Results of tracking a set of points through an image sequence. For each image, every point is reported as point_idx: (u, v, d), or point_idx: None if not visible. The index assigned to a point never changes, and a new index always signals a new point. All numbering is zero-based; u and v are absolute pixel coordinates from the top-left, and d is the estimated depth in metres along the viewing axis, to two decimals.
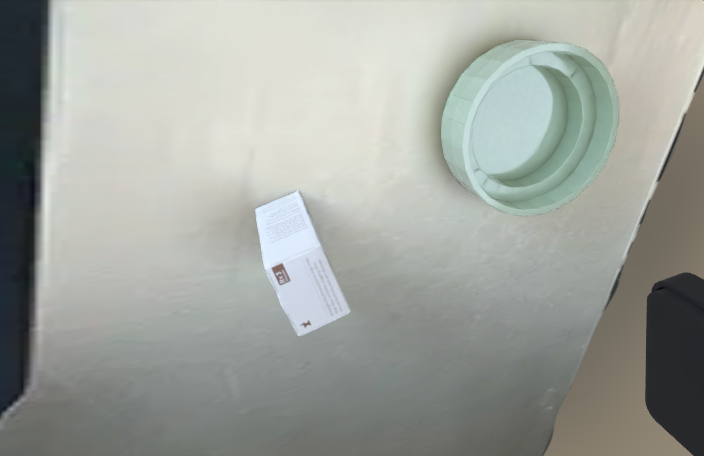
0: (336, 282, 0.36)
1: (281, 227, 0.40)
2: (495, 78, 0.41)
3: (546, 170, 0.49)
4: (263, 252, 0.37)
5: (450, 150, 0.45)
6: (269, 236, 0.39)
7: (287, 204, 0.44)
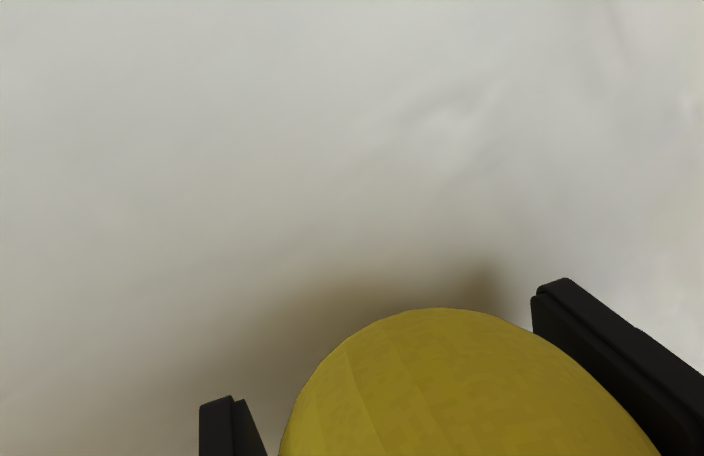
0: None
1: None
2: None
3: None
4: None
5: None
6: None
7: None
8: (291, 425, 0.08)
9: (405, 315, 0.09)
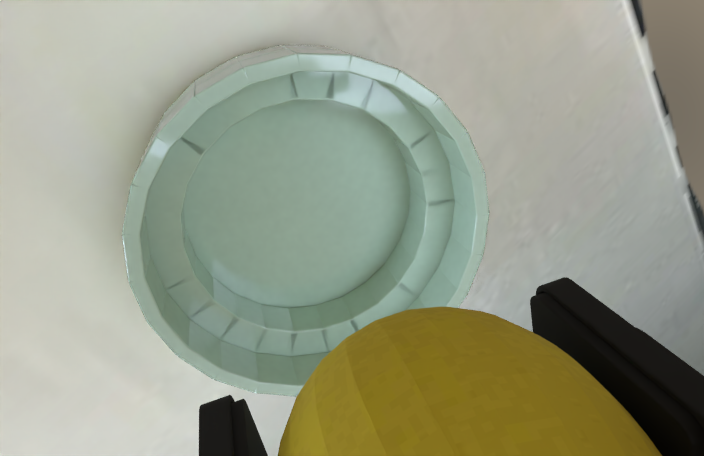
0: None
1: None
2: (139, 265, 0.19)
3: (415, 222, 0.25)
4: None
5: None
6: None
7: None
8: (291, 425, 0.08)
9: (405, 314, 0.09)
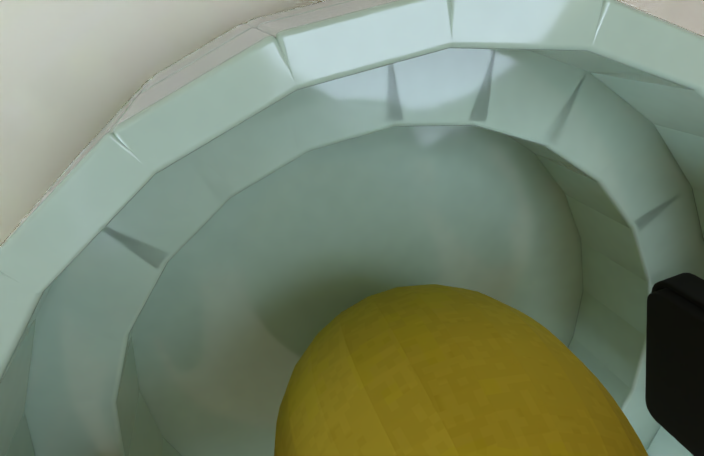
0: None
1: None
2: None
3: (599, 358, 0.13)
4: None
5: None
6: None
7: None
8: (289, 389, 0.09)
9: (395, 290, 0.09)
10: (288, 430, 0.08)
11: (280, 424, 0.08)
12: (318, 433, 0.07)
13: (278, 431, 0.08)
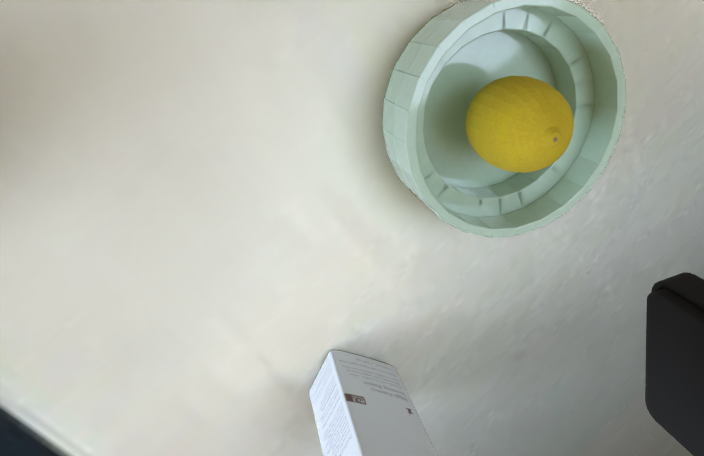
0: None
1: (334, 434, 0.35)
2: (413, 133, 0.30)
3: None
4: None
5: None
6: (329, 454, 0.35)
7: (328, 382, 0.38)
8: (473, 101, 0.32)
9: None
10: (477, 105, 0.31)
11: (472, 109, 0.32)
12: (489, 98, 0.30)
13: (472, 111, 0.32)
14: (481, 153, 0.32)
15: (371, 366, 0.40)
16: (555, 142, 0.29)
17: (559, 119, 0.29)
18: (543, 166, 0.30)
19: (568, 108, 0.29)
